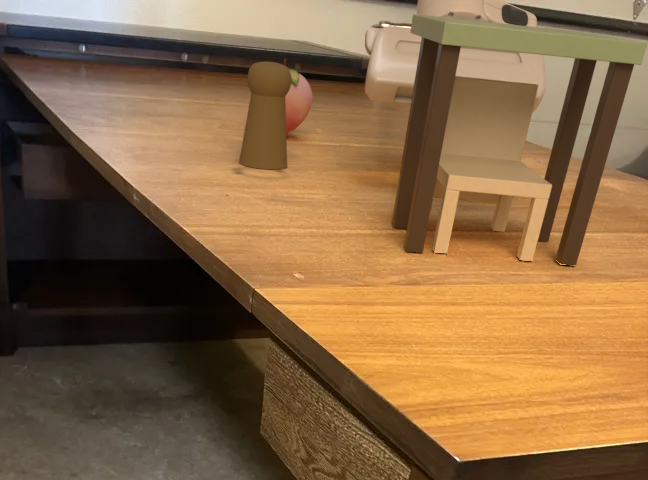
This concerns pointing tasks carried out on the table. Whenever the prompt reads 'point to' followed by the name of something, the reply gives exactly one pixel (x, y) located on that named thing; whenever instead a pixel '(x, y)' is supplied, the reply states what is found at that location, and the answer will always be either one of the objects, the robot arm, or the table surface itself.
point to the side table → (587, 49)
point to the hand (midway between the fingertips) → (453, 136)
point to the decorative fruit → (297, 100)
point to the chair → (489, 158)
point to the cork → (266, 117)
